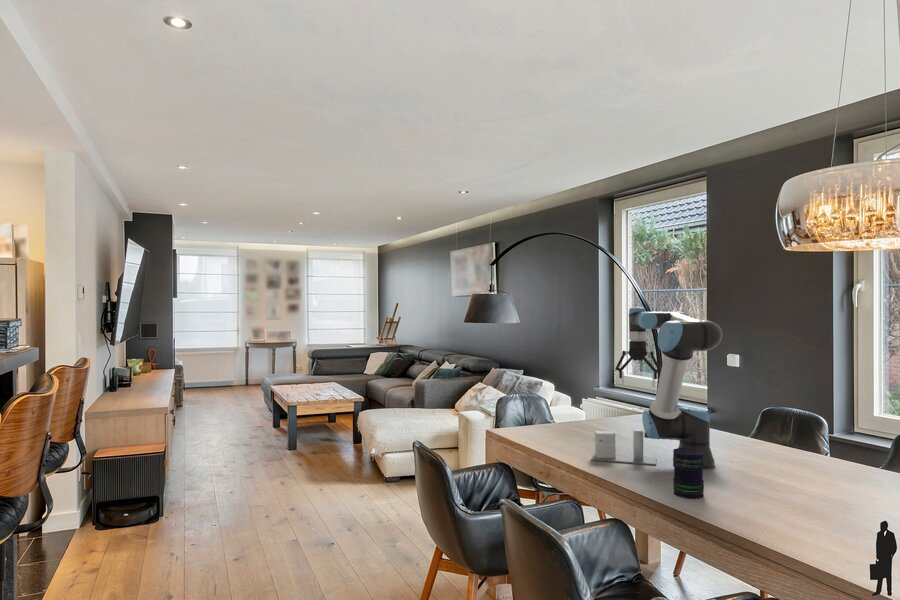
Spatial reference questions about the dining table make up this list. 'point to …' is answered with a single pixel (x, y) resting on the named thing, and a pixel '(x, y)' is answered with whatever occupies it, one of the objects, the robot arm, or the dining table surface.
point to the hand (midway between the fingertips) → (638, 386)
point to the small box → (605, 444)
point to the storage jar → (688, 473)
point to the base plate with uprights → (638, 453)
